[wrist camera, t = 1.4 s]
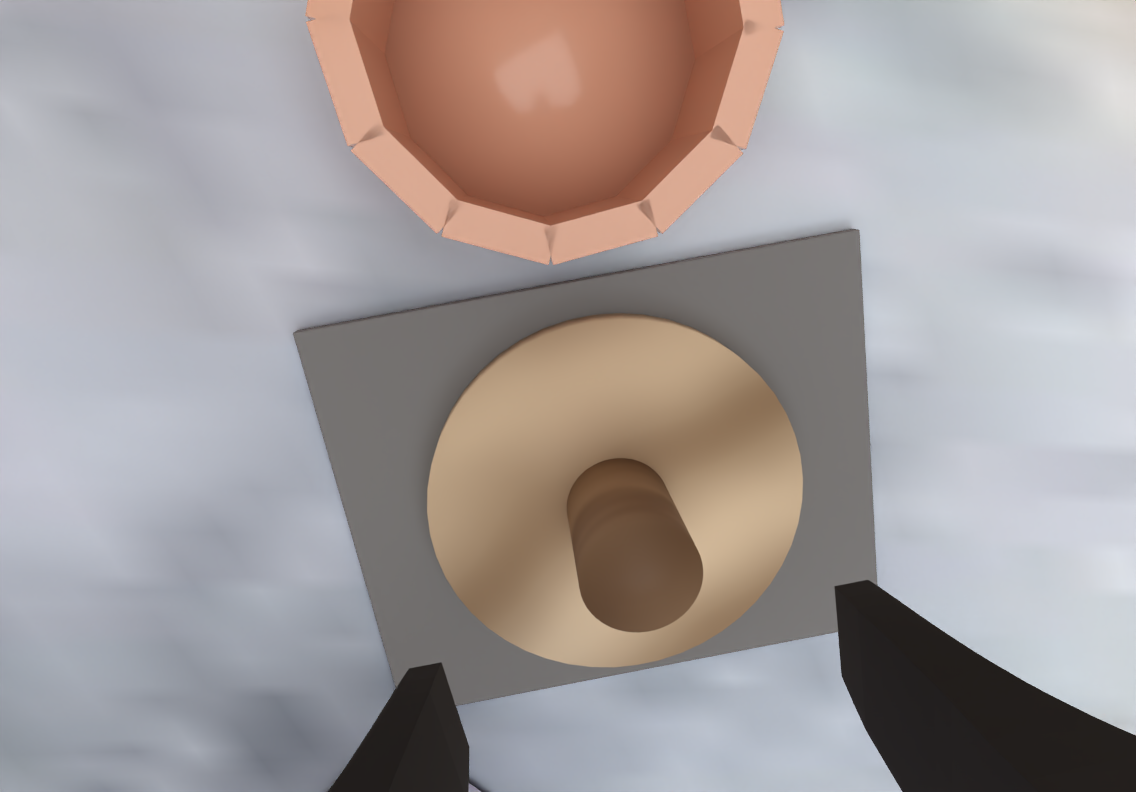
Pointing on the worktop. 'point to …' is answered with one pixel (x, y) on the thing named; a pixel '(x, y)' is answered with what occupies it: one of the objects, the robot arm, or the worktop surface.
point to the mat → (496, 322)
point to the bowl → (547, 110)
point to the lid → (614, 490)
